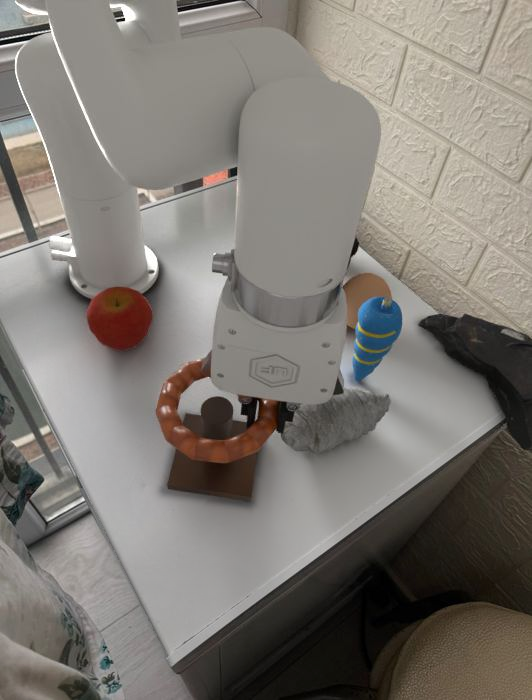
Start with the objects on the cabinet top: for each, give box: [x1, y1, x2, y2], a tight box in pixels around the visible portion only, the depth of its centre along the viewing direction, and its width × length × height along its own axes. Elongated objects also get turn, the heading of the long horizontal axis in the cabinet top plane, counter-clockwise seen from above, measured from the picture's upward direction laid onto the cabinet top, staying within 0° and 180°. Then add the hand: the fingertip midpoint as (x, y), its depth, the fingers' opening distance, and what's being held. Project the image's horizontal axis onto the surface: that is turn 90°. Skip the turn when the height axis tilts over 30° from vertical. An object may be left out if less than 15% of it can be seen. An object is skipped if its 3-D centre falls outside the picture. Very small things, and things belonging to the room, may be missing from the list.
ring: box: [155, 357, 280, 463], centre depth 48 cm, size 12×12×2 cm
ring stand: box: [166, 395, 259, 502], centre depth 53 cm, size 9×9×10 cm
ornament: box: [351, 295, 403, 383], centre depth 60 cm, size 5×5×15 cm
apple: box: [85, 287, 154, 352], centre depth 64 cm, size 8×8×8 cm
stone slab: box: [417, 313, 532, 451], centre depth 67 cm, size 22×16×5 cm
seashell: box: [279, 387, 392, 454], centre depth 58 cm, size 6×14×8 cm, turn 115°
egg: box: [342, 272, 393, 330], centre depth 69 cm, size 7×7×8 cm
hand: (266, 417), depth 49 cm, fingers closed on ring, 2 cm apart
